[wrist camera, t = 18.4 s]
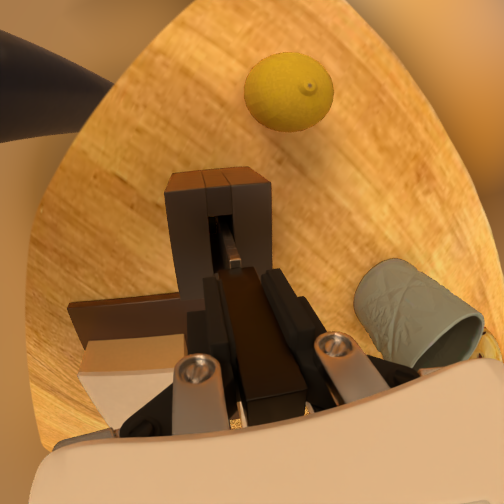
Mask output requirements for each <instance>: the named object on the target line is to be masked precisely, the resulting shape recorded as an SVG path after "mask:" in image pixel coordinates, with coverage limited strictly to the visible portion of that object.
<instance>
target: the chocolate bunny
mask: <svg viewBox="0 0 504 504" xmlns="http://www.w3.org/2000/svg"><path fill="white" fill-rule="evenodd" d="M476 358H491V359H496V360H498V361H500V362H502V356H501V352H500V348H499V346H498V343H497V341H496V339H495V337H494V336H493V335H492V334H491V333H490V331H488V330H487V328H486V327H484V330H483V334H482V337H481V339H480V341H479V343H478V345H477V347H476V349H475V350H474V352H473V354H472V355H471V357H470V358H469V360H470V359H476ZM502 363H503V362H502Z"/></svg>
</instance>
